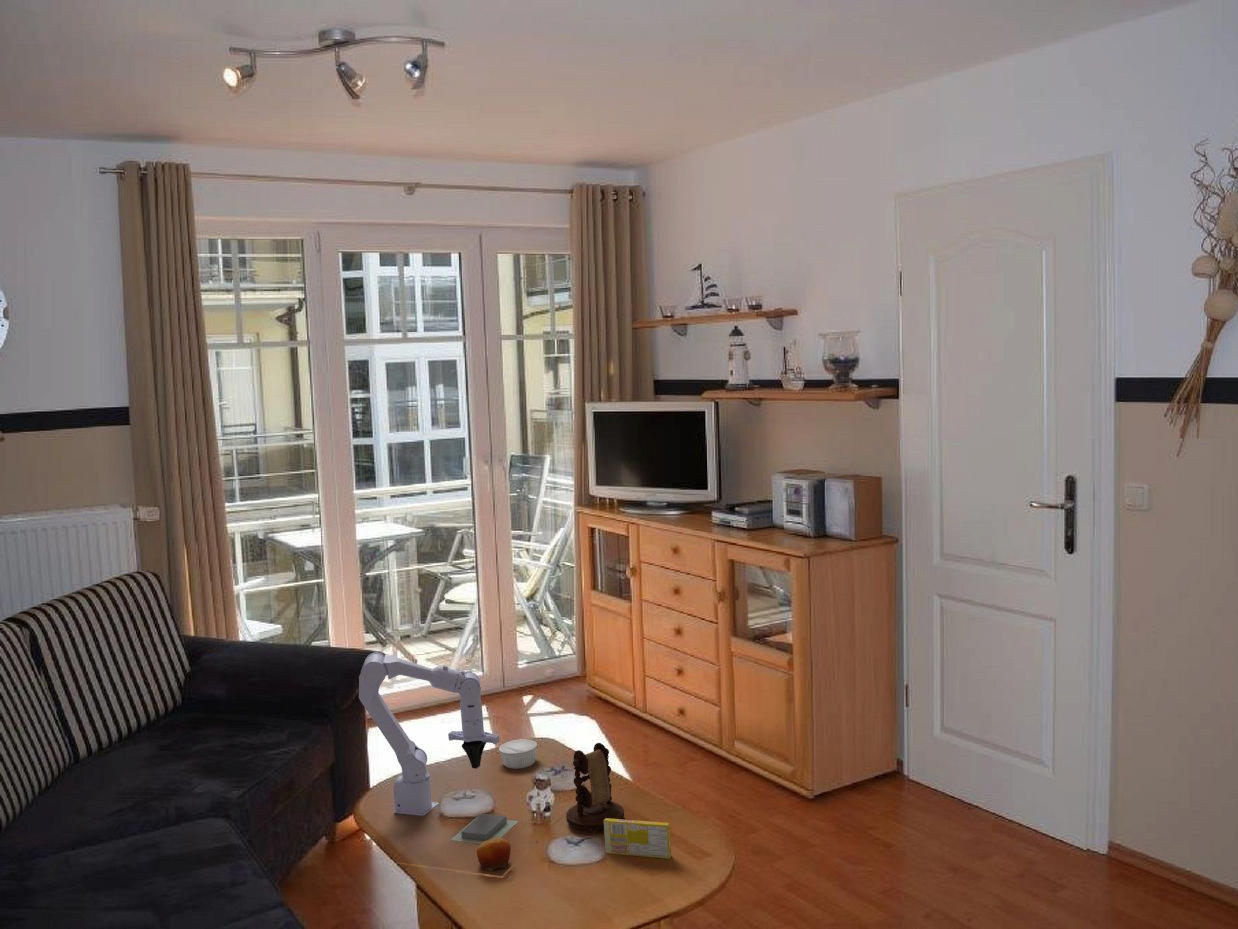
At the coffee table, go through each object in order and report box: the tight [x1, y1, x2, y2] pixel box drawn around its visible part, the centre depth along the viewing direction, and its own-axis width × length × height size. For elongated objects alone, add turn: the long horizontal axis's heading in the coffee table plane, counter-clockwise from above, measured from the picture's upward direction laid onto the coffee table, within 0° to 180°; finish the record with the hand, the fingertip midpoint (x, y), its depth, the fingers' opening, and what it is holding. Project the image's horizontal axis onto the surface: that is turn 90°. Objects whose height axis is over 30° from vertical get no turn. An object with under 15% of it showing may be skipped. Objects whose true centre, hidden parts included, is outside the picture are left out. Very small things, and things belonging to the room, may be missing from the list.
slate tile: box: [460, 813, 508, 841], centre depth 288 cm, size 2×11×7 cm
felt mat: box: [450, 816, 519, 845], centre depth 288 cm, size 12×14×1 cm
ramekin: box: [498, 738, 538, 770], centre depth 333 cm, size 11×11×5 cm
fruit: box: [476, 837, 511, 873], centre depth 268 cm, size 8×8×8 cm
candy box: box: [603, 818, 673, 860], centre depth 270 cm, size 16×2×8 cm, turn 71°
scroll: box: [565, 742, 625, 835], centre depth 288 cm, size 15×15×20 cm
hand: (476, 767), depth 306 cm, fingers closed
